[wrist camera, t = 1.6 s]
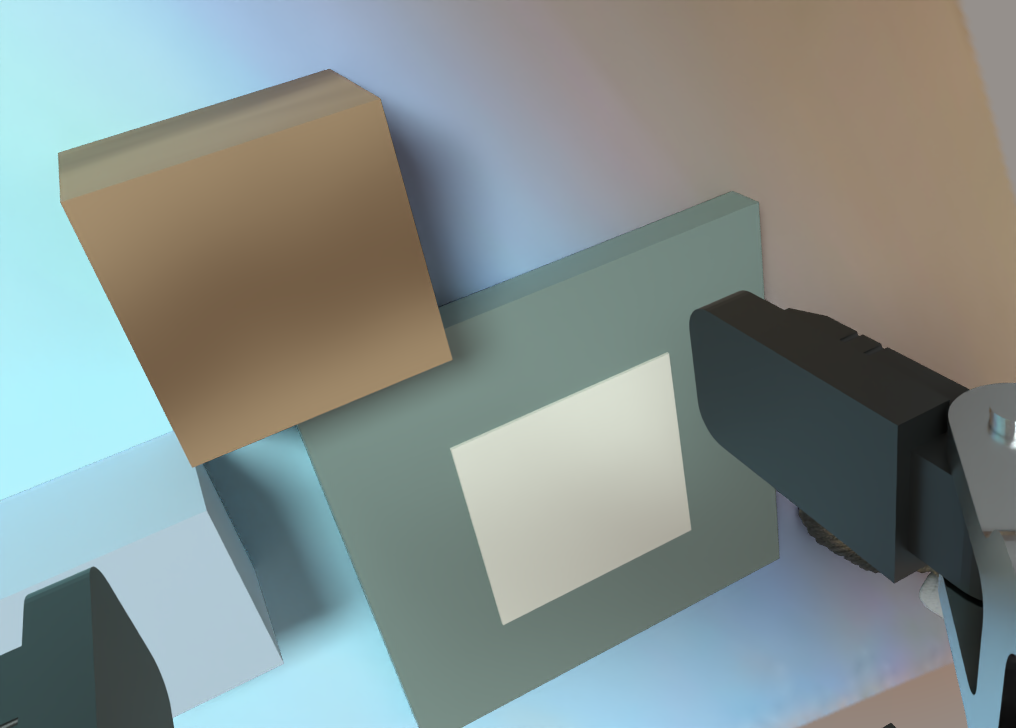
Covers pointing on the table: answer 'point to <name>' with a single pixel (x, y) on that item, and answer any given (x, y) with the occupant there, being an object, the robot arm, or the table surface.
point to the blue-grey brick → (146, 564)
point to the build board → (550, 469)
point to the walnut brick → (259, 258)
